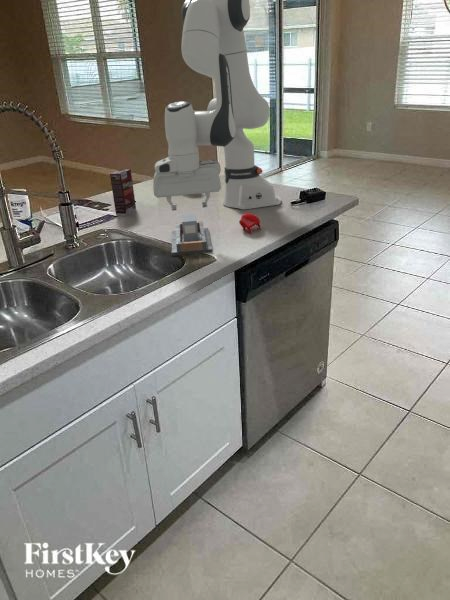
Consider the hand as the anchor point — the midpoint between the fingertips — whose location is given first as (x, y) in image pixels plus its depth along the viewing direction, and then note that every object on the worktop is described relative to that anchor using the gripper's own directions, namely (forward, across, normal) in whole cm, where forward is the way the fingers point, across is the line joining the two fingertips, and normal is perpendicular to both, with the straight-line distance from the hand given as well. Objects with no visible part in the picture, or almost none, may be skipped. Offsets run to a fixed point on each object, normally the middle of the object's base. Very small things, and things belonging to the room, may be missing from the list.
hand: (189, 208), depth 144 cm
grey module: (+10, +1, 0) cm, 10 cm away
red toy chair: (+12, -19, -6) cm, 23 cm away
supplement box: (+11, +24, -40) cm, 48 cm away
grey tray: (+11, +1, 0) cm, 11 cm away
